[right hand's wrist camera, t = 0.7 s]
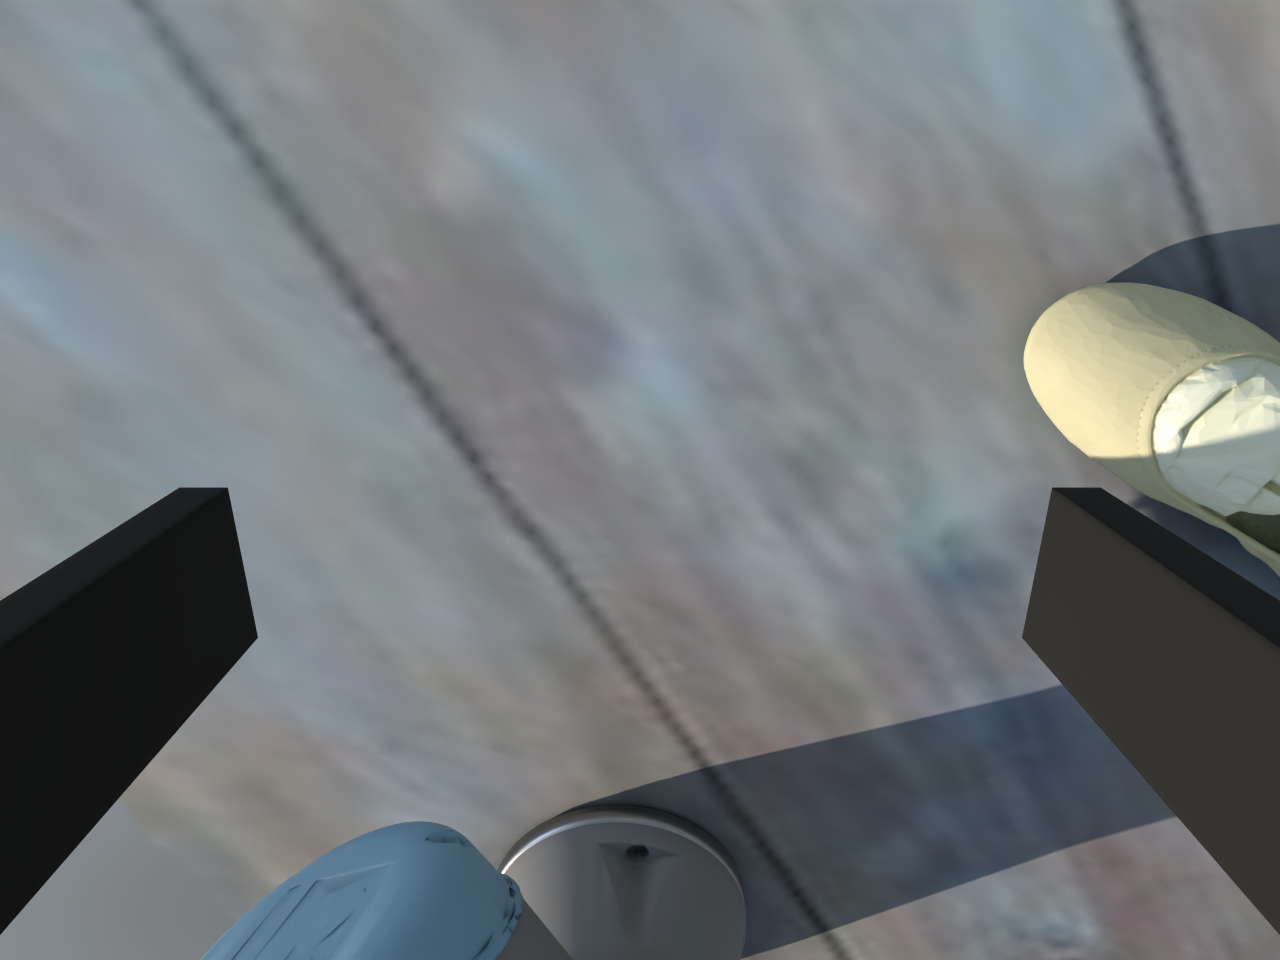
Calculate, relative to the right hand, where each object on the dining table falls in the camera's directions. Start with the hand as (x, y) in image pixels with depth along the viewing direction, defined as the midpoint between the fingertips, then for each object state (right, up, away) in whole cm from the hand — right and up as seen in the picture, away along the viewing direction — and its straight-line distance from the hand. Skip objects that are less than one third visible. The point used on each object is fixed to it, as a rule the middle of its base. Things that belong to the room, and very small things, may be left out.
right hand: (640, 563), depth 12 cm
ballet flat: (+28, +3, +24) cm, 37 cm away
